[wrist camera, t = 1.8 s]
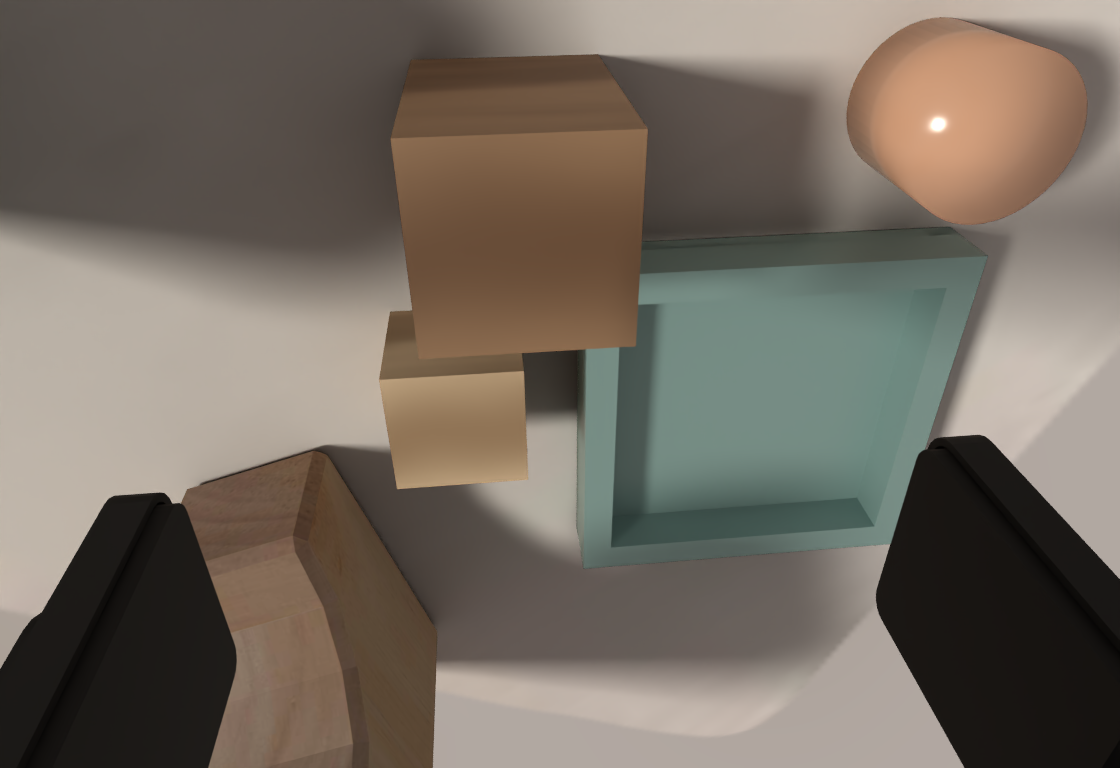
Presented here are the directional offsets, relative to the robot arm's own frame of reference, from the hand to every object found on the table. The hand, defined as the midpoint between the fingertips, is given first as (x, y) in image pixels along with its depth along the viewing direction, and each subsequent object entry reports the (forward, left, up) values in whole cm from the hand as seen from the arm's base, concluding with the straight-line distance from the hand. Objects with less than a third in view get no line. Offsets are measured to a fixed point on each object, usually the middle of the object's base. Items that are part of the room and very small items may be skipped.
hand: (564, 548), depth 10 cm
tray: (+8, +8, -15) cm, 19 cm away
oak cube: (+6, -2, -15) cm, 17 cm away
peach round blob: (-2, +12, -15) cm, 19 cm away
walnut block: (-1, 0, -15) cm, 15 cm away
